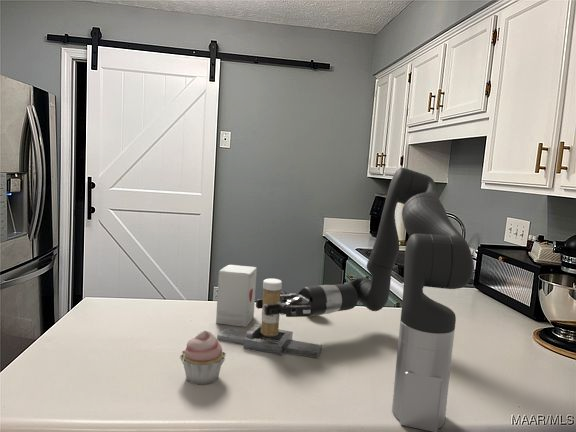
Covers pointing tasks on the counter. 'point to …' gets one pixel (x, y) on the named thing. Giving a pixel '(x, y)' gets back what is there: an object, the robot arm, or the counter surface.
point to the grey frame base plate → (269, 342)
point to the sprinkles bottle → (270, 298)
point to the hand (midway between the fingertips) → (261, 307)
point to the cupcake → (203, 358)
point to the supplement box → (236, 295)
